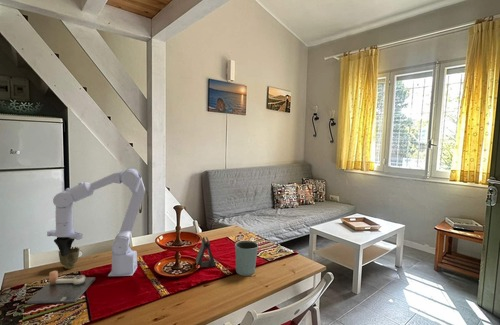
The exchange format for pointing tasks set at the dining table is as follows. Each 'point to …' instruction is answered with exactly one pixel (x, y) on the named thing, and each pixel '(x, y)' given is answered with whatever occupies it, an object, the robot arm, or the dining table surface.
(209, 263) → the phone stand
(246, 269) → the green tumbler
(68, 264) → the cup
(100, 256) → the dining table surface
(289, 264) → the dining table surface
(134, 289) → the dining table surface
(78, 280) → the lever
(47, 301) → the lock base
